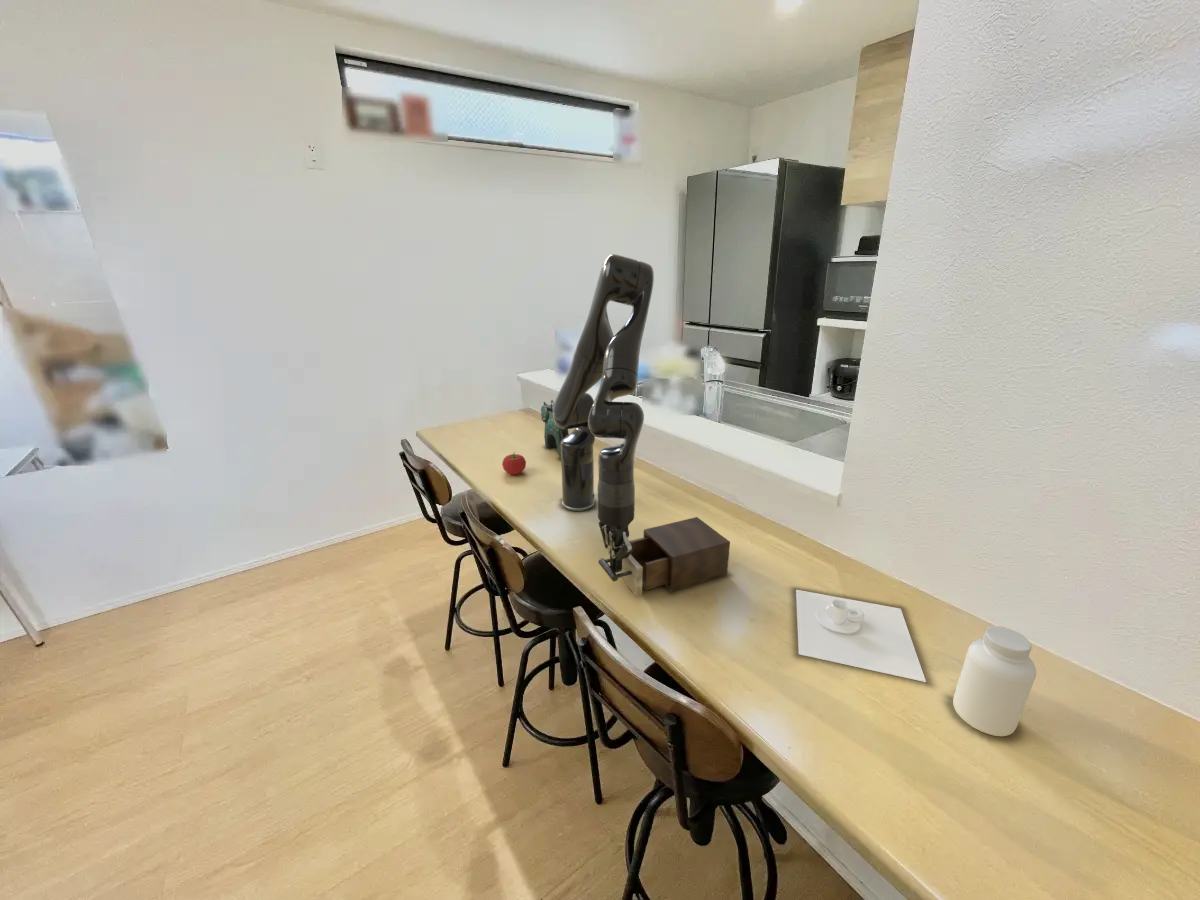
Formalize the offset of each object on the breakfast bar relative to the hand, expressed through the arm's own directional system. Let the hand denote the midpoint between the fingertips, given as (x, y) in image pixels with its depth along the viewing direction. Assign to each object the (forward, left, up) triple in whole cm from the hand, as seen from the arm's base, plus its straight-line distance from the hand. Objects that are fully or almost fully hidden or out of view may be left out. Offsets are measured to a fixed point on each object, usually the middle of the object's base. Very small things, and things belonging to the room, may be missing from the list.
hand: (616, 570), depth 106 cm
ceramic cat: (-85, +17, -5) cm, 87 cm away
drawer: (0, +7, -4) cm, 7 cm away
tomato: (-72, -3, -5) cm, 72 cm away
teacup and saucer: (+31, +36, -5) cm, 47 cm away
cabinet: (0, +18, -5) cm, 18 cm away
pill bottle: (+53, +38, -5) cm, 65 cm away
